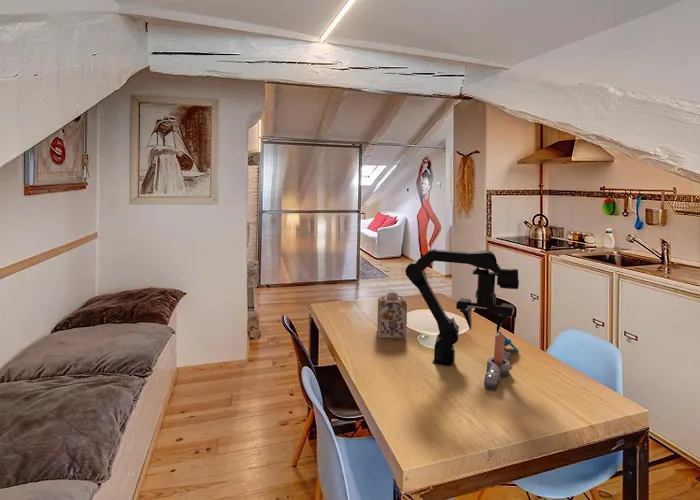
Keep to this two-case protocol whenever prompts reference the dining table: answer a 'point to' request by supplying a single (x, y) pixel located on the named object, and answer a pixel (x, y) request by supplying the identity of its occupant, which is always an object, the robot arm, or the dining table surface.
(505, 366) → the grey jointed bar
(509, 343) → the gear
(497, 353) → the pin
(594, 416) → the dining table surface
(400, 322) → the decorative jar
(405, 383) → the dining table surface
